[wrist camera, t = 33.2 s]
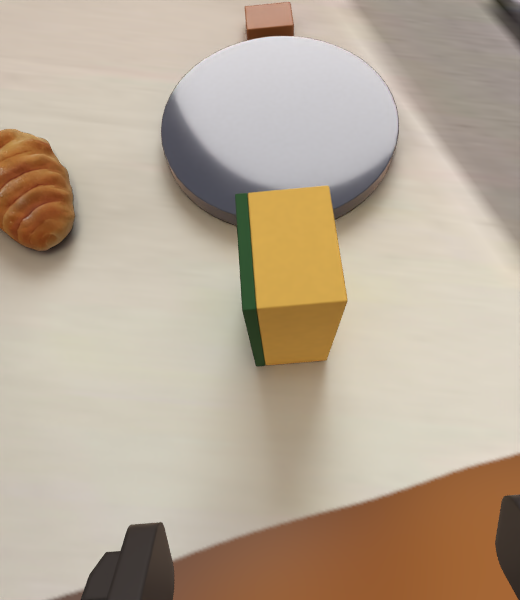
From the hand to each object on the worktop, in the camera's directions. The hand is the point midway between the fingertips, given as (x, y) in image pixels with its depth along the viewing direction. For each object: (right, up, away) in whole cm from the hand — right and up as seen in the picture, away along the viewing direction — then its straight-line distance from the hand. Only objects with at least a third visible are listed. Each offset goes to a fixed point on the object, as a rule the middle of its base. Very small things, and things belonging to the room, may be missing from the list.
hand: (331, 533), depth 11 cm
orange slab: (-1, +29, +29) cm, 41 cm away
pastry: (-19, +13, +24) cm, 33 cm away
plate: (0, +19, +25) cm, 31 cm away
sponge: (0, +4, +19) cm, 19 cm away
